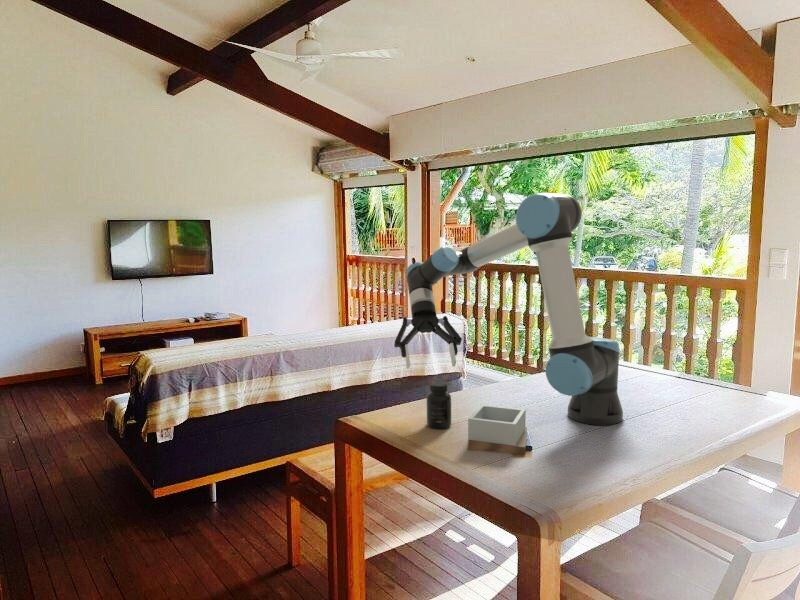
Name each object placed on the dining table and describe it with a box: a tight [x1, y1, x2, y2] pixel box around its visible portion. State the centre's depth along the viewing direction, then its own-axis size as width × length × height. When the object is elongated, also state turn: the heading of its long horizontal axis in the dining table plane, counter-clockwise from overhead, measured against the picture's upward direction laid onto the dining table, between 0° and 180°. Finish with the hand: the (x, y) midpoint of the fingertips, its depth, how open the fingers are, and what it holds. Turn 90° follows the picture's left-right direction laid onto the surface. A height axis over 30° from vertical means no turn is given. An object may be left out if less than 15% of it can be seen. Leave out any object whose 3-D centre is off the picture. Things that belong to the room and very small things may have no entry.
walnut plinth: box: [467, 426, 528, 455], centre depth 154 cm, size 14×14×2 cm
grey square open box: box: [467, 404, 527, 446], centre depth 153 cm, size 12×12×6 cm
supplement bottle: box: [426, 381, 452, 430], centre depth 165 cm, size 7×7×12 cm
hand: (431, 365), depth 174 cm, fingers open, 13 cm apart
